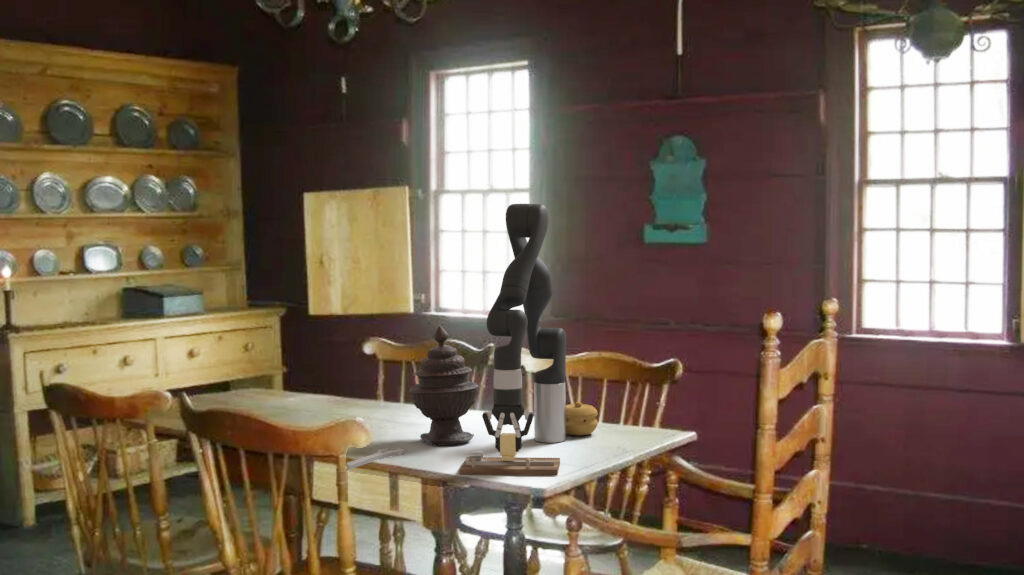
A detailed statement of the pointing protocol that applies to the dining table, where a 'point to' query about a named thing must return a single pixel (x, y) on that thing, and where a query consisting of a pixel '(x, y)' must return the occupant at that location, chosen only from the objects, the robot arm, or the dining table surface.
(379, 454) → the adjustable wrench
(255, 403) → the dining table surface
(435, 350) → the decorative urn
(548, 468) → the wooden slider board
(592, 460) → the dining table surface
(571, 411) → the pot
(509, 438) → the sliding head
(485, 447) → the dining table surface
